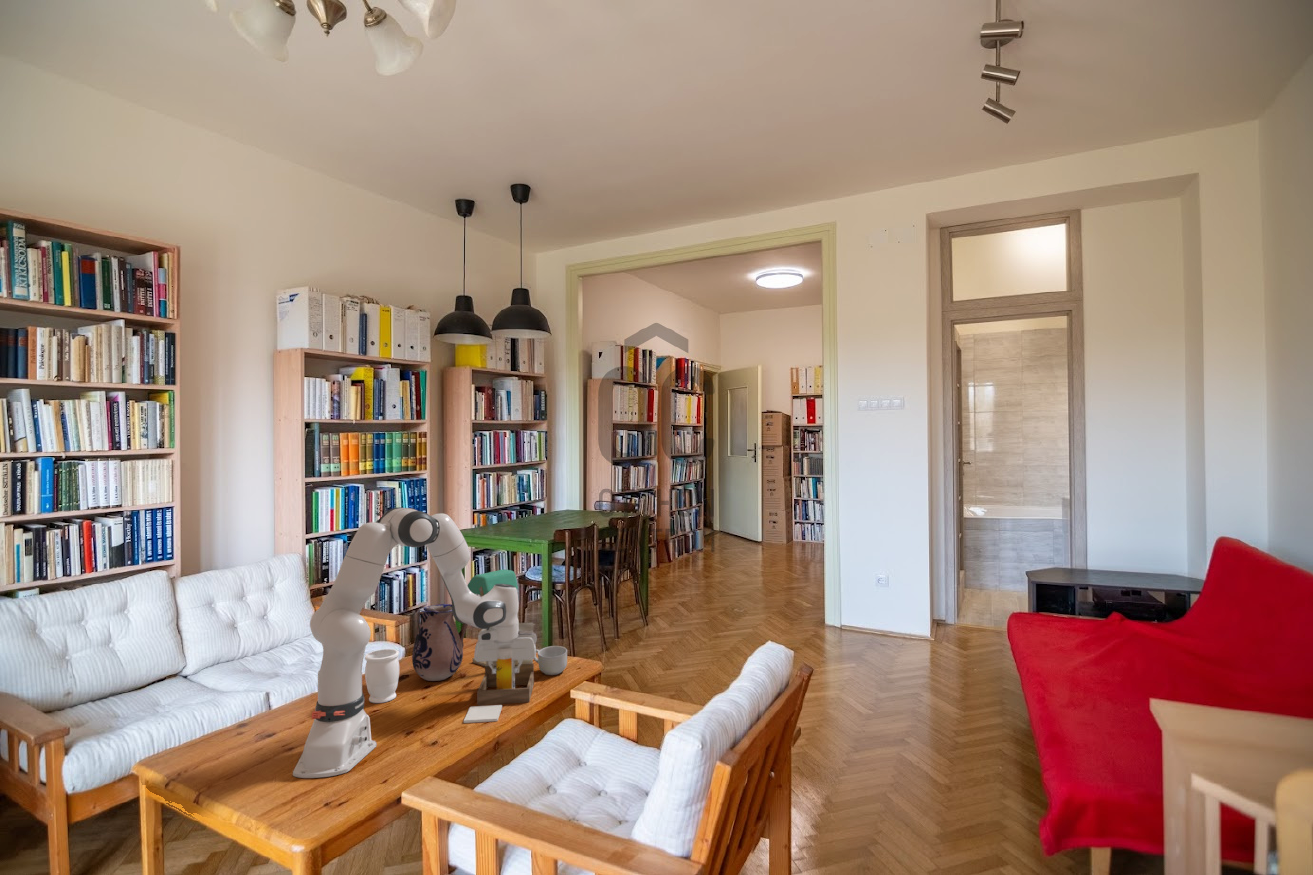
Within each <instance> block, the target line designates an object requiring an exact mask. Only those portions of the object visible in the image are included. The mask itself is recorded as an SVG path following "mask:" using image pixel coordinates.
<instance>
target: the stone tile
mask: <svg viewBox="0 0 1313 875" xmlns="http://www.w3.org/2000/svg"><path fill="white" fill-rule="evenodd" d="M502 710H503V705H502V704H491V705H477V706H470V707H469V708H468V711H467V713H466V715H465V717H464V719H463V724H470V723H471V724H472V723H487V722H498V721H499V718H500V715H501V712H502Z"/></svg>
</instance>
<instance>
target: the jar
mask: <svg viewBox="0 0 1313 875" xmlns="http://www.w3.org/2000/svg"><path fill="white" fill-rule="evenodd" d="M399 655H400V651H399V650H398V649H394V648H386V649H378V650H373V651H371V652H369V653H366V654H364V659H365V661H366V663H365V666H364V667H365V668H364V677H365V678H364V680H365V684H366V688H367V692H368V694H369V695H370V696H369V698H368V702H370V703H372V704H383V703H387V702H388V703H389V702H390V701H393V700H394V699H396V697H397V693H396V690H397V688H398V685H399V684H398V683H399V677H400V662H399V661H400V660H399V658H398V657H399Z"/></svg>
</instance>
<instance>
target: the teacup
mask: <svg viewBox="0 0 1313 875" xmlns="http://www.w3.org/2000/svg"><path fill="white" fill-rule="evenodd" d="M536 654H537V655H536V656H535V658H534V659H533V661H534V662H536V663H537V664H538V668H539V670H540V671H541V673H543V674H545V675H546V676H556V675H559V674H562V672H563V671H564V670H565V669H566V668H567V666H568V649H567V648H566V647H564V646H562V645H561V646H560V645H551V646H546V647H543V648H541V649H537V648H536Z"/></svg>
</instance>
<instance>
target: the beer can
mask: <svg viewBox="0 0 1313 875" xmlns="http://www.w3.org/2000/svg"><path fill="white" fill-rule="evenodd" d="M498 649H499V650H498V651H497V661H496V683H497V686H496V689H513V688H516V685H515V673H514V671H515V670H514V668H515V660H512V650H511V648H505V649H500V648H498Z"/></svg>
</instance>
